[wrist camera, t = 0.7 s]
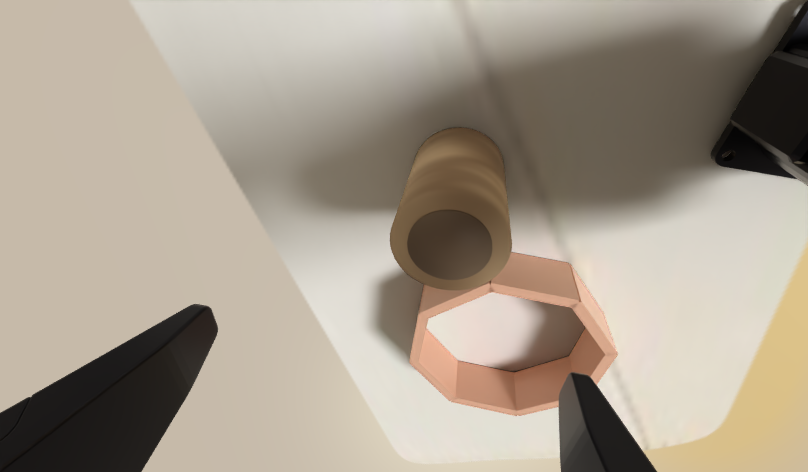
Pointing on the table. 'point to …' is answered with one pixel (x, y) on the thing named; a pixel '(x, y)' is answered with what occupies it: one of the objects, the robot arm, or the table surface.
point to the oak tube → (454, 213)
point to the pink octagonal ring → (529, 385)
